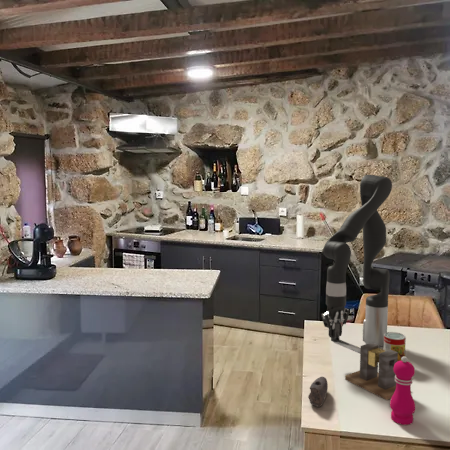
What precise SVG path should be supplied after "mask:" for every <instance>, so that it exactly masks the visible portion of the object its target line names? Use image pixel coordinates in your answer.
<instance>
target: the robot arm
mask: <svg viewBox="0 0 450 450" xmlns="http://www.w3.org/2000/svg"><path fill="white" fill-rule="evenodd" d="M392 182H393V181H392V180H391V179H390V178H389V177H386V176H381V175H375V174H365V175H363V176H362V178H361V181H360V182H359V183H360V184H359V194H360V202H361V204H360V205H361V206H360V207H358V208H357V209H356V210H354V211H352V212H351V213H350V214H349V215H347V217H346V219H345V220H344V221H343V223H342V224H341V226H340V228H339V229H338V230H337V231H336V232H335V233H334V234H333V235H331V236H330V237H329V239H328V240H327V241H326V242H325V244H324V246H323V250H322V251H323V255H324V257H325V258H327V259H329V260H334V261H335V262H334V264H333V265H331V266H330V265H329V266H328V267H327V270H326V287H325V305H326V307H327V308H326V312H324V313H323V312H322V313H321V314H320V316H321V319H322V323H323V326H324V328H327V329H328V337H329V338H330V339H331V338H334V337H335V329H334V328H335V323H336V322H339V323H340V337H341V336H342V334H343V326H344V325H346V324H347V323H348V320H349V319H348V318H349V315H350V311H351V309H349V308H346V305H347V283H346V282H347V280H346V279H347V270H348V268H349V263H350V260H351V256H352V251H351V247H350V245H349V244H348V243H352V242H354V241H356V239H357V237H358V236H359V234H360V232H361V231H362V242H363V243H362V244H363V267H362V268H363V269H362V271H363V272H362V283H363V284H362V285H363V287H364V288H365V289H367V290H377V291H380V292H378V293H377V294H371V295H369V296H366V298H365V319H364V320H363V321H362V322H363V324H362V342H364V343H365V344H368V343H375V344H377V345H379V347H384V334H385V333H387V332H388V315H389V313H388V312H389V293H390V292H389V289H390V278H391V277H390V276H391V275H390V270H389V269H387V268H378V267H372V265H373V263H374V260H375V259H376V257H377V256H378V255H379V253H381V251H382V250H383V249H384V247H385V245H386V242H387V227H386V224H385V221H384V220H383V218H382V216H381V215H380V212H379V211H378V210H379V208H381V206H382V205H383V204H384V202H385V201H387V199H388V198H389V196H390V195H391V192H392V189H393V183H392ZM331 322H332V325H331Z"/></svg>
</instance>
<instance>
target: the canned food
mask: <svg viewBox="0 0 450 450" xmlns="http://www.w3.org/2000/svg"><path fill="white" fill-rule="evenodd" d="M406 339H407V337H406V335H405V334H403V333H400V332H395V331H387V333H385V334H384V346H383V350H385V351H388V350H393V351H395V352H398V361H402V360H401V358H402V357H404V356H405V357H406V341H407V340H406ZM398 361H397V362H398Z"/></svg>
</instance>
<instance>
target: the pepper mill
mask: <svg viewBox="0 0 450 450" xmlns="http://www.w3.org/2000/svg"><path fill="white" fill-rule="evenodd" d="M401 360H402V361H398V362H396V363H395V365H394V368H393V370H394V373H395V374H396V375H395V381H396V389H395V392H394V394H393V396H392V397H391V399H389V401H390V403H389V407H390V409H391V411H390V412H391V413H390V414H391V415H390V416H391V417H390V419H391V420H392V421H393V422H394V423H397V424H398V425H403V426H406V425H407V426H408V425H411V424H413V422H414V415H413V414H414V413H415V411H416V403H415V400H414V398H413V395H412V392H411V390H412V389H411V388H412V387H411V385H412V384H413V382H414V381H413V377H414V376H415V373H416V370H415V366H414V365H413V363H411V362H409V359H408V357H407V356H406V355H405V356H404V357H402V358H401Z"/></svg>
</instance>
